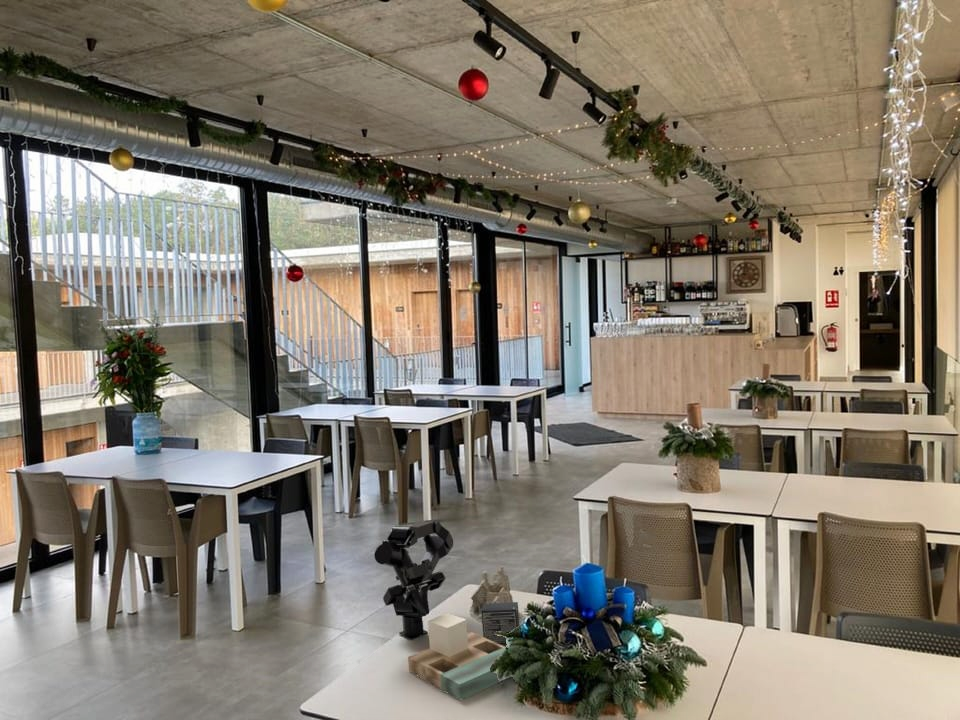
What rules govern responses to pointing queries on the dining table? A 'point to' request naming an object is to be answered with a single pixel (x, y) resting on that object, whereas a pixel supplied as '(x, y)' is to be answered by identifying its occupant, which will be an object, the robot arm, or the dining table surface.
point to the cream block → (448, 634)
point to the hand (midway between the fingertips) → (427, 613)
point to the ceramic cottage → (490, 593)
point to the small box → (499, 620)
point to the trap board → (459, 667)
